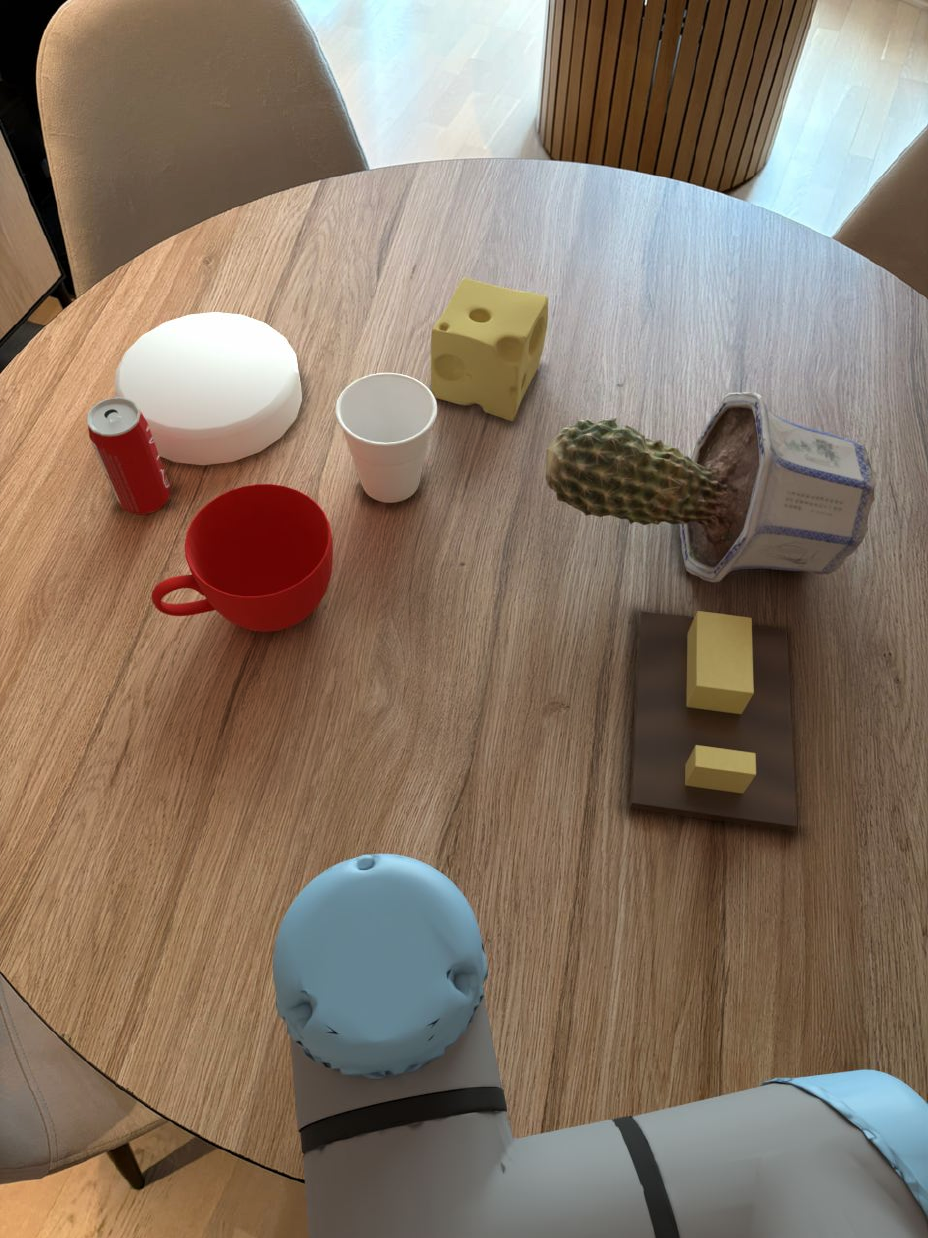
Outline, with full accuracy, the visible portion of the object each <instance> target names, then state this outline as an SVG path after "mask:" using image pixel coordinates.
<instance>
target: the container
mask: <svg viewBox="0 0 928 1238" xmlns="http://www.w3.org/2000/svg"><path fill="white" fill-rule="evenodd" d="M300 376H301V375H300V372H299V365H298V359H297V354H296V352H295V351H294V349H293V347H292V346H291V344H290V343H289V341H288V339H287V338H286V337H285V336H284V335H283V334H281V333H280V332H278V331H277V330H275V329H274V328H272V327H271V326H270V325H269V324H267V323H266V322H263V321H261V320H258V319H255V318H252V317H250V316H247V315H244V314H240V313H239V314H238V313H228V312H220V311H212V312H203V313H192V314H187V315H184V316H180V317H177V318H174V319H171V320H167V321H164V322H163V323H161V324H159V325H157V326H156V327H154V328H152V329H150V330H149V331H147V332H145V333H143V334H142V335H141V336H140V337H139V338H138V339H137V340H136V341H134V343H133V344H132V345H130V347H129V348H128V349H127V350H126V351H125V352H124V353H123V355H122V358H121V359H120V361H119V364H118V366H117V367H116V370H115V372H114V390H113V391H114V393H113V394H114V396H115V397H121V398H127V399H130V400H132V401H133V402H135V404H136V405H137V407H138V408H139V409H140V411H141V412H142V414H143V415H144V417H145V419H146V421H147V422H148V425H149V428H150V431H151V434H152V437H153V439H154V442H155V445H156V448H157V451H158V453H159V456H160V458H163V459H166V460H168V461H171V462H172V463H177V464H185V465H186V464H187V465H188V464H189V465H196V466H210V465H219V464H227V463H234V462H236V461H240V460H242V459H245V458H247V457H250V456H253V455H256V454H258V453H260V452H262V451H264V450H265V449H266V448H268V447H269V446H271V445H272V444H274V443H275V442H277V441H278V440H280V439H281V438H282V437H283V436H284V435H285V433H287V431H288V430H289V429H290V428H291V426H292V425H293V424H294V422H295V421H297V419H298V414H299V413H300V408H301V405H302V403H303V392H302V384H301V378H300Z"/></svg>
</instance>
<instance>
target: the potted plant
mask: <svg viewBox="0 0 928 1238" xmlns="http://www.w3.org/2000/svg"><path fill="white" fill-rule="evenodd" d="M617 419H618V418H617V417H613V418H609V417H606V418H605V419H603V420H600V421H599V422H596V423H595V422H593V421H592V420H591V419H588V418H586V419H578V420H577V421H576V422H575V424H574V425H569V426H566V427H563V428H562V429H561V430H560V431H559V432H558V434H556V436H554V437H553V438H552V440H551V442H550V445H549V446H548V448H546V458H545V459H546V463H545V479H546V480H545V481H546V483H547V485H548V488H549V489H551V490H552V491H553V492H555V493H556V500H557V501H558V502H562V503H566V504H567V505H568V506H570V507H573V508H574V509H576V510H578V511H580V512H581V513H583V514H584V515H585V516H586V517H587V516H594V517H598V518H603V517H607V516H611V517H614V518H618V519H620V520H627V521H628V522H629V524H630V525H632V524H634V523H638V524H640V525H642V526H647V525H651V524H654V525H657V526H659V524H660V523H667V524H670V525H673V526H674V525H679V538H680V540H681V554H682V558H683V563H684V568H685V570H686V572H688V573H689V574H690V575H692V576H697V577H699V578H700V579H701V580H703V581H705V582H707V581H708V582H710V583H719V582H721V580H723V579H724V577H726V576H727V575H728V574H729V573H730V572H733V571H737V570H738V571H739V570H748V569H750V570H751V569H765V570H766V569H767V570H779V571H789V572H790V571H791V572H805V573H806V572H807V573H814V574H817V575H828V574H831V573H834V572H836V571H838V570H840V569H841V567H842V566H843V564H844V563H845V562H846V560H847V558H848V557H850V556H851V555H853V554H854V553H855V552H856V550H857V549H858V548H859V547H860V545H861V544H862V543H863V541H864V539H865V537H866V534H867V533H868V531H869V527H868V521H869V516H870V513H871V512H870V511H871V507H872V506H873V504H874V502H875V487H876V483H877V479H876V476H875V473H874V471H873V469H872V468H873V467H872V465H871V461H870V458H869V454H868V451H867V449H866V447H865V445H863V444H862V443H860V442H857V441H855V440H851V439H847V438H843V437H840V436H837V435H834V434H831V433H829V432H825V431H822V430H818V429H815V428H810V427H807V426H805V425H801V424H797V423H794V422H792V421H789V420H786V419H784V418H782V417H780V416H779V415H776V414H775V413H774V412H772V411H771V410H770V409H769V407H768V406H767V405H766V403H765V402H764V399H763V397H762V396H761V394H759V393H756V392H751V391H744V392H729V393H727V394H726V395H724V397H723V398H722V399H721V401H720V403H719V404H718V406H717V407H716V409H715V411H714V412H713V414H712V415H711V416H710V419H709V420H708V422H707V423H706V425H705V427H704V428H703V430H702V432H701V434H700V435H699V437H698V439H697V441H696V444H695V445H694V448H693V451H692V455H691V457H689V455H688V456H687V455H684V454H683V453H682V452H681V451H680V450H679V447H673V446H668V445H665V444H663V442H662V440H661V439H659V440H652V439H649V438H646V435H645V434H642V433H640V432H639V431H637V429H636V428H635V427H633V426H629V425H624V426H619V425H617V422H616V420H617Z"/></svg>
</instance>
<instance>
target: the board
mask: <svg viewBox="0 0 928 1238" xmlns="http://www.w3.org/2000/svg"><path fill="white" fill-rule="evenodd" d="M694 617H695V616H694ZM694 617H693V616H688V615H687V616H686V615H678V614H671V613H662V612H655V611H650V610H649V611H648V610H640V613H639V615H638V626H637V628H638V629H637V648H636V665H635V666H636V668H635V689H634V709H633V710H634V711H633V730H632V749H631V768H630V769H631V770H630V772H631V773H630V789H629V790H630V791H629V809H633V810H641V811H646V812H647V811H648V812H655V813H661V814H668V815H676V816H682V817H690V818H696V819H703V820H711V821H717V822H723V823H724V822H725V823H733V824H737V825H738V824H739V825H744V826H753V827H759V828H766V829H773V830H781V831H787V832H788V831H789V832H794V831H795V830H796V829H797V827H798V821H797V820H798V818H797V799H796V781H795V779H796V777H795V762H794V761H795V759H794V741H793V719H792V703H791V702H792V701H791V686H790V685H791V684H790V682H791V681H790V667H789V664H790V663H789V648H788V647H789V646H788V629H785V628H778V627H770V626H762V625H755V624H752V649H753V684H754V694H753V695H752V697H751V699H750V701H749V702H748V704H747V706H746V707H745V709H744V711H743V713H742V714H735V713H727V712H720V711H713V710H705V709H698V708H691V707H687V706H686V704H687V639H688V632H689V629H690V627H691V624H692V622H693V620H694ZM696 745H700V746H707V747H714V748H721V749H728V750H736V751H743V752H750V753H755V754H756V776H755V777H754V778H753V780H752V781H751V783H750V784H749V786H748V787H747V789H746V790H745V792H744V793H743V794H742V793H735V792H728V791H721V790H714V789H707V788H700V787H693V786H686V785H685V765H686V763H687V761H688V759H689V757H690V755H691V753H692V751H693V750H694V748H695V746H696Z"/></svg>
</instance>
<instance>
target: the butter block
mask: <svg viewBox="0 0 928 1238" xmlns="http://www.w3.org/2000/svg"><path fill="white" fill-rule="evenodd" d="M752 620H753V619H752V617H750V616H749V617H748V616H742V615H741V616H740V615H733V614H725V613H717V612H709V611H701V610H696V612H695V615H694V620H693V622H692V624H691V627H690V629H689V632H688V639H687V704H686V706H687V707H691V708H698V709H705V710H713V711H720V712H727V713H735V714H742V713H743V711H744V709H745V707H746V706H747V704H748V702H749V701H750V699H751V697H752V695H753V694H754V684H753V649H752V625H753V621H752Z"/></svg>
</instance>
